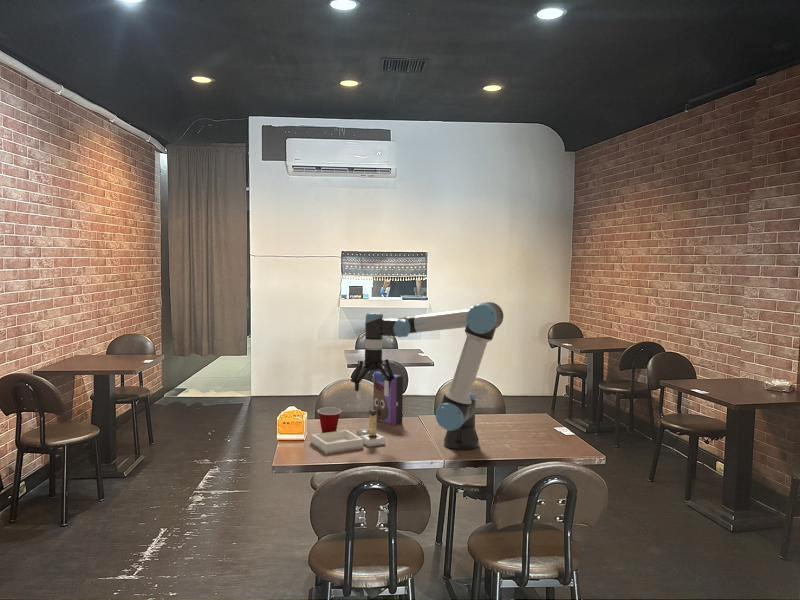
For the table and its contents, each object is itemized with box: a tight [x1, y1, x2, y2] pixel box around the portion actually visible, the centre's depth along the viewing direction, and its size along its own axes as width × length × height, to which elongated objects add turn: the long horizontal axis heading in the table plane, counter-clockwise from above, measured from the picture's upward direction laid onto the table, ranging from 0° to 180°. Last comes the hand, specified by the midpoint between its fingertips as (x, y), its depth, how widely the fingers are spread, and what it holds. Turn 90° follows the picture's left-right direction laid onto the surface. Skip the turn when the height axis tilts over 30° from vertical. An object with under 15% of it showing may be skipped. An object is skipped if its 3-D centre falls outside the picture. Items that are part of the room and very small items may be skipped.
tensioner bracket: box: [355, 428, 386, 448], centre depth 272 cm, size 16×8×4 cm, turn 30°
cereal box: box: [372, 371, 404, 426], centre depth 308 cm, size 17×5×24 cm, turn 40°
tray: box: [310, 429, 364, 455], centre depth 264 cm, size 17×17×4 cm
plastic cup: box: [317, 406, 342, 433], centre depth 280 cm, size 11×11×12 cm
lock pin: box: [368, 409, 377, 438], centre depth 268 cm, size 4×4×14 cm
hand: (372, 397), depth 268 cm, fingers open, 13 cm apart
